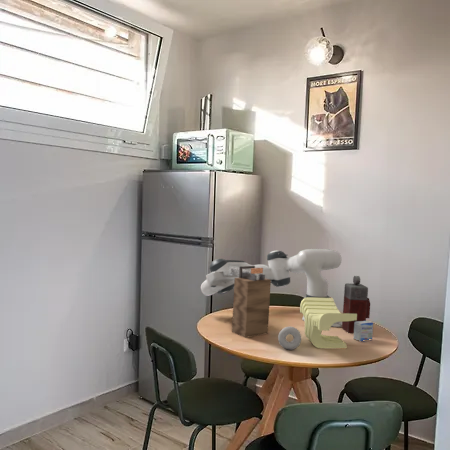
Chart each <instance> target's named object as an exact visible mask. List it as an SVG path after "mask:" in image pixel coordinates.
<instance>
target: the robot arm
mask: <svg viewBox="0 0 450 450" xmlns="http://www.w3.org/2000/svg"><path fill="white" fill-rule="evenodd" d="M288 256H289V255H288V254H286V253H285V252H284V251H282V250H276V249H275V250H272V251H270V252H269V253H268V254H267V255H266V259H267V264H268V265H267V264H263V263H262V264H258V263H257V264H249V263H248V262H246V261H245V260H235V259H223V258H217V259H214V260H213V261H211V262H210V265H209V268H208V269H209V270H210V271H209V272H210V273H208V274H206V275H205V277H206V279H205V280H204V281H203V282H202V283H201V285H200V291H201V293H202V294H203V295H204V296H206V297H208V296H212V295H215V294H218V295H223V294H226V293H229V291H232V290H234V282H235V278H239V276H237V275H233V274H230V273H233V269H229V267H236V268H240V267H242V266H255V268H263V273H261V274H263V275H265V278H266V279H270V280H271V284H272V285H273V286H274V287H276V288H285V287H287V286H288V285H290V284H291V277H290V273H292V274H305V277H306V294H305V298H307V297H314V298H332V296H329V293H328V292H329V281H328V280H327V278H326V277H325V276H323V275H322V273H321V271H328V270H335V269H338V268H340V266H341V264H342V256H341V253H340V252H339V251H338V250H334V249H331V248H330V249H329V248H322V249H321V248H307V249H303V250H300V251H298V253H297V254H295V255H293V256H290V257H288ZM245 270H249V271H251V268H249V269H245ZM301 320H302V321H304V322H305V318H304V315H303V314H302V318H301ZM331 327H334V328H342V322H336V323H334V324H333V325H332V326H331Z"/></svg>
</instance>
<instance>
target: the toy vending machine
mask: <svg viewBox="0 0 450 450" xmlns="http://www.w3.org/2000/svg"><path fill="white" fill-rule="evenodd" d="M352 282H353V283H349V282H348V283H344V291H343V294H344V295H343V307H342V308H343V309H342V313H349V314H357V320H354V321H343V322H342V327H341V329H342V330H344V331H345V332H346V333H347V332H348V333H347V334H354V322H357V321H367V319H370V316H371V315H370V314H371V313H370V312H371V302H370V298H369V294H368V293H369V287H368V286H365V285H363V284H362V283H361V277H360V275H354V276H353V277H352Z"/></svg>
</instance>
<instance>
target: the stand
mask: <svg viewBox="0 0 450 450" xmlns="http://www.w3.org/2000/svg"><path fill="white" fill-rule="evenodd" d="M249 268H255V266H242V267H240V268H239V278H235V281H234V288H233V301H232V302H233V304H232V307H233V308H232V321H231V322H232V323H231V324H232V325H231V332H232V333H233V334H235V335H238V336H241V337H243V338H251V337H255V336H262V335H267V334H268V333H269V319H270V318H269V316H270V300H271V299H270V298H271V284H272V283H271V280H270V279H266V278H265V275H263V274H261V276H260V280H256V278H257V276H256V275H252V274H248V273H244V272H242V269H249Z"/></svg>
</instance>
